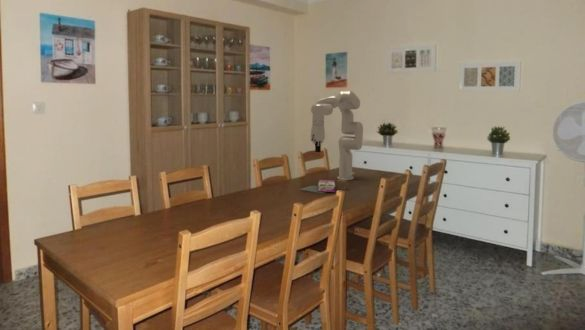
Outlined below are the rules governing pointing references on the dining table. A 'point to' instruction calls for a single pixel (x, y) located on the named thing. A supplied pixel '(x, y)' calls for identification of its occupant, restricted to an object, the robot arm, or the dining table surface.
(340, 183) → the walnut block
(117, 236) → the dining table surface
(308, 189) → the slate mat
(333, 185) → the candy bar box
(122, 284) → the dining table surface
